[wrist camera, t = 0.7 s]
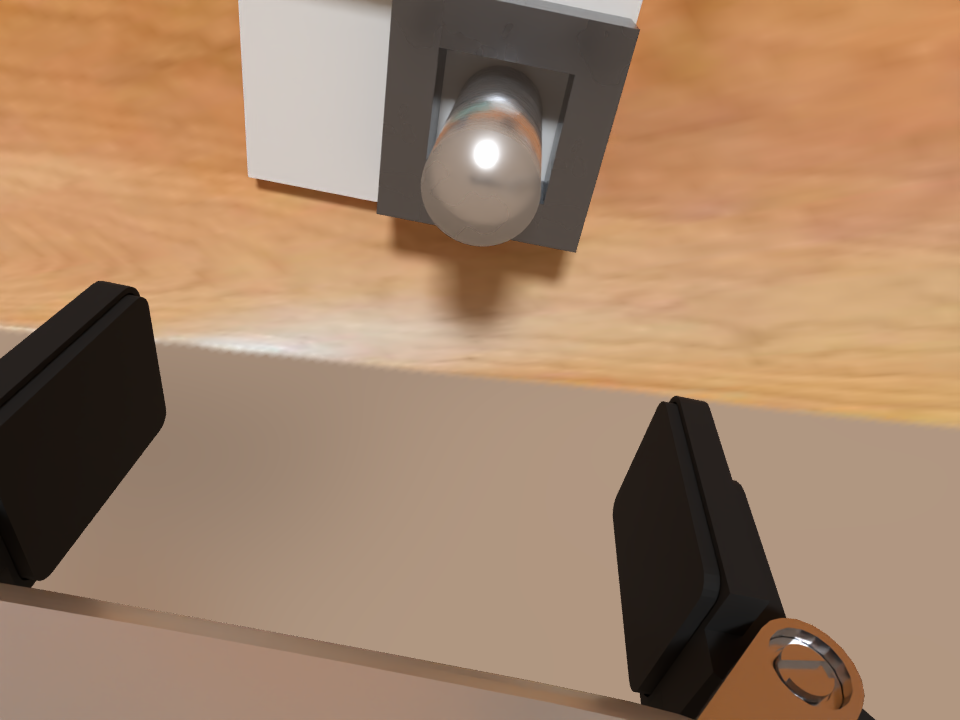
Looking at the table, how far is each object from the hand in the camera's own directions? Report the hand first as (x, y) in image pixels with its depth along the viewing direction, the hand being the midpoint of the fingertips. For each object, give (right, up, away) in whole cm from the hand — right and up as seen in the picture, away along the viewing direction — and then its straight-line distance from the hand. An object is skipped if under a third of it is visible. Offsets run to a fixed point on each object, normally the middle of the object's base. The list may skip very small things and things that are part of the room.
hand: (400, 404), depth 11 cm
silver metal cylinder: (+2, +12, +17) cm, 21 cm away
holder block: (+2, +12, +17) cm, 21 cm away
